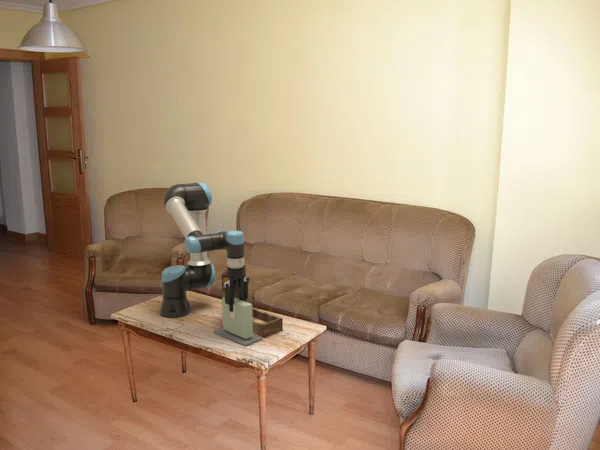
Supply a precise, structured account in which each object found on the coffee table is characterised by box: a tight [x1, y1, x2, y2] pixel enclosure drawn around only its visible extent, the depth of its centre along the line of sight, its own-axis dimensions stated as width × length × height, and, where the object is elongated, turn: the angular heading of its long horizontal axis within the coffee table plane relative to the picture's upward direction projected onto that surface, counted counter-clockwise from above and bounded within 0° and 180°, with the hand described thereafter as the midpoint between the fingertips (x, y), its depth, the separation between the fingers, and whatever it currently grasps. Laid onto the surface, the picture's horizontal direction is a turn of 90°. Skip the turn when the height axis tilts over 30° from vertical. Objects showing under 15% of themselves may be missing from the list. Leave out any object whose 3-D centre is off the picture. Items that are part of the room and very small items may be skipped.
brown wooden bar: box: [253, 318, 267, 337], centre depth 246 cm, size 17×4×5 cm, turn 47°
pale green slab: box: [221, 297, 254, 339], centre depth 239 cm, size 16×4×15 cm, turn 47°
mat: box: [213, 327, 263, 347], centre depth 240 cm, size 22×10×1 cm, turn 47°
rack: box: [252, 307, 284, 339], centre depth 249 cm, size 20×12×6 cm, turn 47°
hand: (237, 316), depth 238 cm, fingers closed on pale green slab, 4 cm apart
